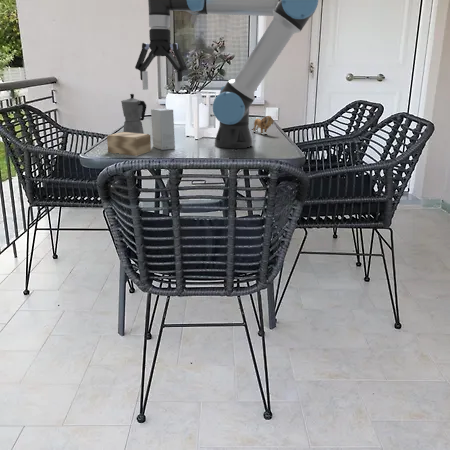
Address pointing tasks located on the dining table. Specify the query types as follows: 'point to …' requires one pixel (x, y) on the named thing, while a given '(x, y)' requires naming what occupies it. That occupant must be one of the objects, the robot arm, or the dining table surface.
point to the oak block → (129, 143)
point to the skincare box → (163, 128)
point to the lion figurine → (263, 123)
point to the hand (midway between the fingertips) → (161, 90)
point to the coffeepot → (133, 114)
